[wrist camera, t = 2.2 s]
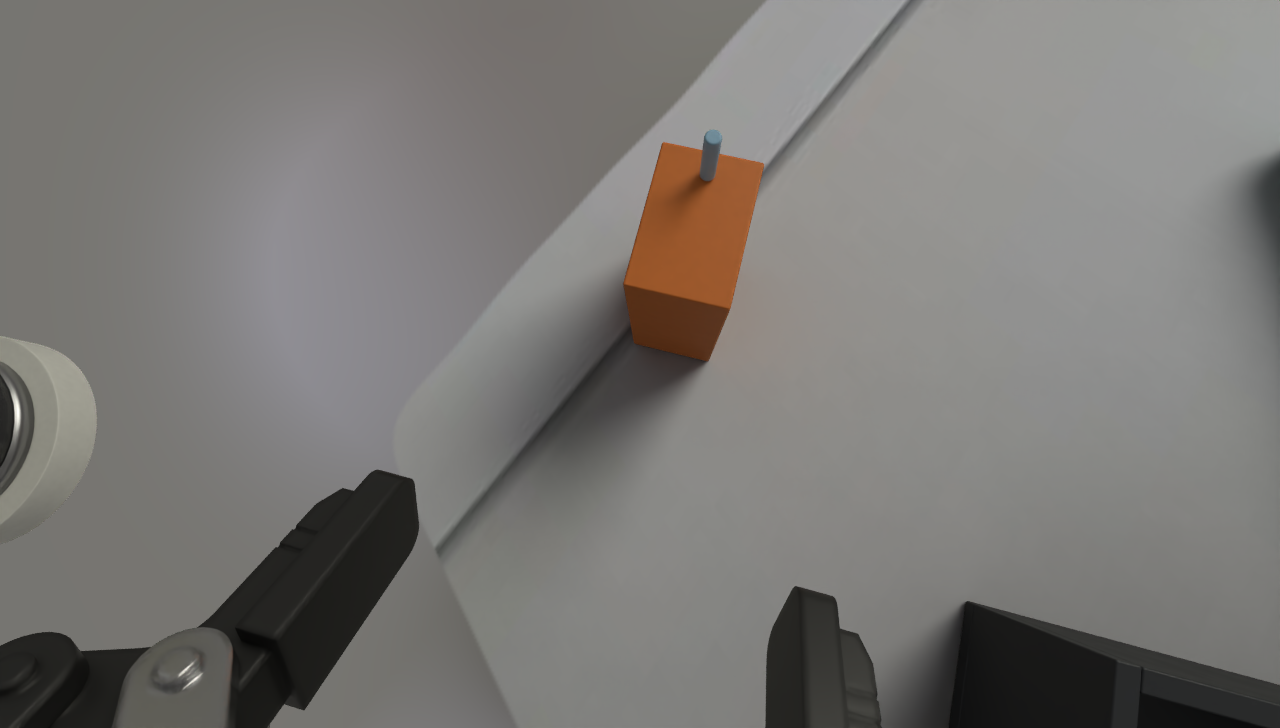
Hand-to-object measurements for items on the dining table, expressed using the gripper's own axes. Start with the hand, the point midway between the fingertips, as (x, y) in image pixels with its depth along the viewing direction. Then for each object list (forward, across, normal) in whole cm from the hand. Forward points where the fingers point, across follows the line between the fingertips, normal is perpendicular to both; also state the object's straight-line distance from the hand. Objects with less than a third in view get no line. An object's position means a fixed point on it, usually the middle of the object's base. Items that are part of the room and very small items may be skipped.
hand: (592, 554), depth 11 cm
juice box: (+20, 0, +4) cm, 20 cm away
